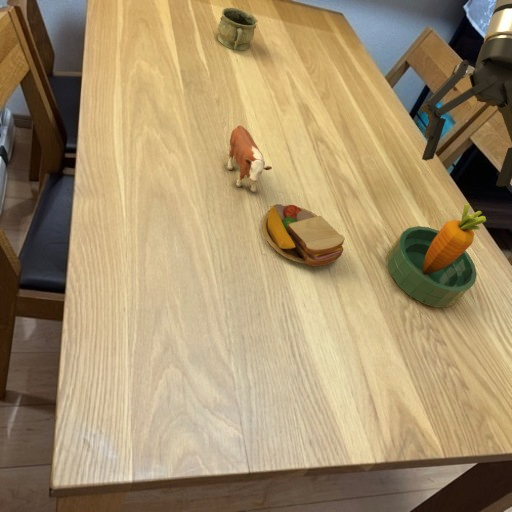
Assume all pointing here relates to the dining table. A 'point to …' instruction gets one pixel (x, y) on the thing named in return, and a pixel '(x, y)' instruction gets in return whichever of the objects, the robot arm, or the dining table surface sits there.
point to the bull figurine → (246, 156)
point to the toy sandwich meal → (301, 235)
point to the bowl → (434, 284)
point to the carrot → (451, 241)
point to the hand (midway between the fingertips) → (465, 172)
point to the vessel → (236, 28)
